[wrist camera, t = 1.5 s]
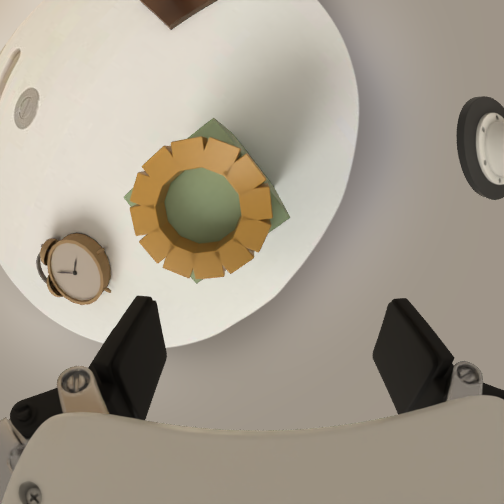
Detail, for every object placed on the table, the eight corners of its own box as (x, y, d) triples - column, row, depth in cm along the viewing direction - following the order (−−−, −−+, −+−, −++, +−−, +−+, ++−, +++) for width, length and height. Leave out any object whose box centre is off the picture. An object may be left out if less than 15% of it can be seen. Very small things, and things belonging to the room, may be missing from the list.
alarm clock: (111, 307, 38) (39, 303, 35) (118, 292, 42) (50, 290, 40) (99, 239, 34) (23, 242, 31) (109, 229, 38) (37, 232, 36)
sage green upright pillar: (231, 132, 32) (213, 117, 17) (274, 187, 34) (290, 217, 20) (177, 175, 34) (123, 197, 19) (219, 227, 36) (196, 284, 21)
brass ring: (214, 111, 17) (209, 107, 15) (296, 218, 20) (300, 226, 18) (118, 196, 19) (106, 202, 17) (196, 288, 22) (191, 301, 20)
